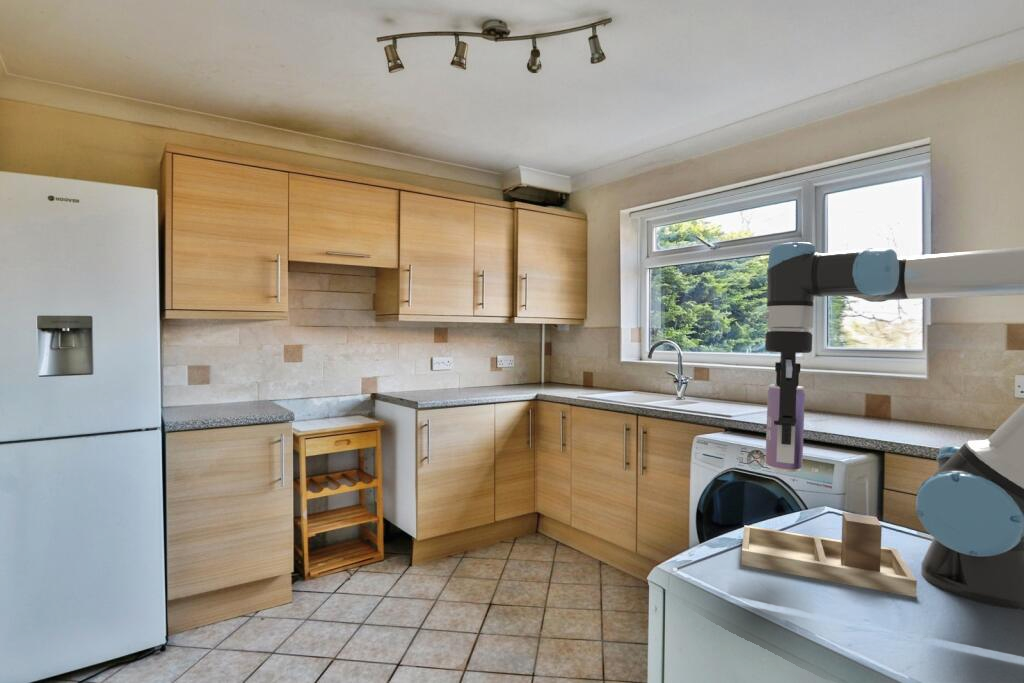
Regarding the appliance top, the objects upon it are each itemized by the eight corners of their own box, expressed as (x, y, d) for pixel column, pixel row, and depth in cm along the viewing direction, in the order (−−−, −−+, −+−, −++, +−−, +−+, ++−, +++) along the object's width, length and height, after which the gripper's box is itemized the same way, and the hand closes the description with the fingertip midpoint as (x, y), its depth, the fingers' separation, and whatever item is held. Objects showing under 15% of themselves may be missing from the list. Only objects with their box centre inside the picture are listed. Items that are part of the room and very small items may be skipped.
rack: (896, 567, 97) (896, 549, 97) (916, 601, 84) (916, 580, 84) (743, 541, 107) (744, 525, 107) (741, 568, 95) (741, 550, 95)
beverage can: (806, 474, 95) (809, 388, 94) (770, 471, 96) (772, 386, 96) (796, 466, 100) (798, 385, 100) (761, 463, 102) (764, 383, 101)
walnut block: (874, 568, 94) (876, 516, 94) (879, 579, 90) (881, 525, 90) (840, 562, 97) (842, 512, 96) (844, 573, 92) (846, 520, 92)
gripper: (765, 330, 108) (761, 446, 108) (765, 329, 91) (761, 467, 91) (808, 331, 105) (804, 451, 105) (817, 330, 88) (812, 472, 88)
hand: (784, 458), depth 98 cm, fingers closed on beverage can, 6 cm apart
